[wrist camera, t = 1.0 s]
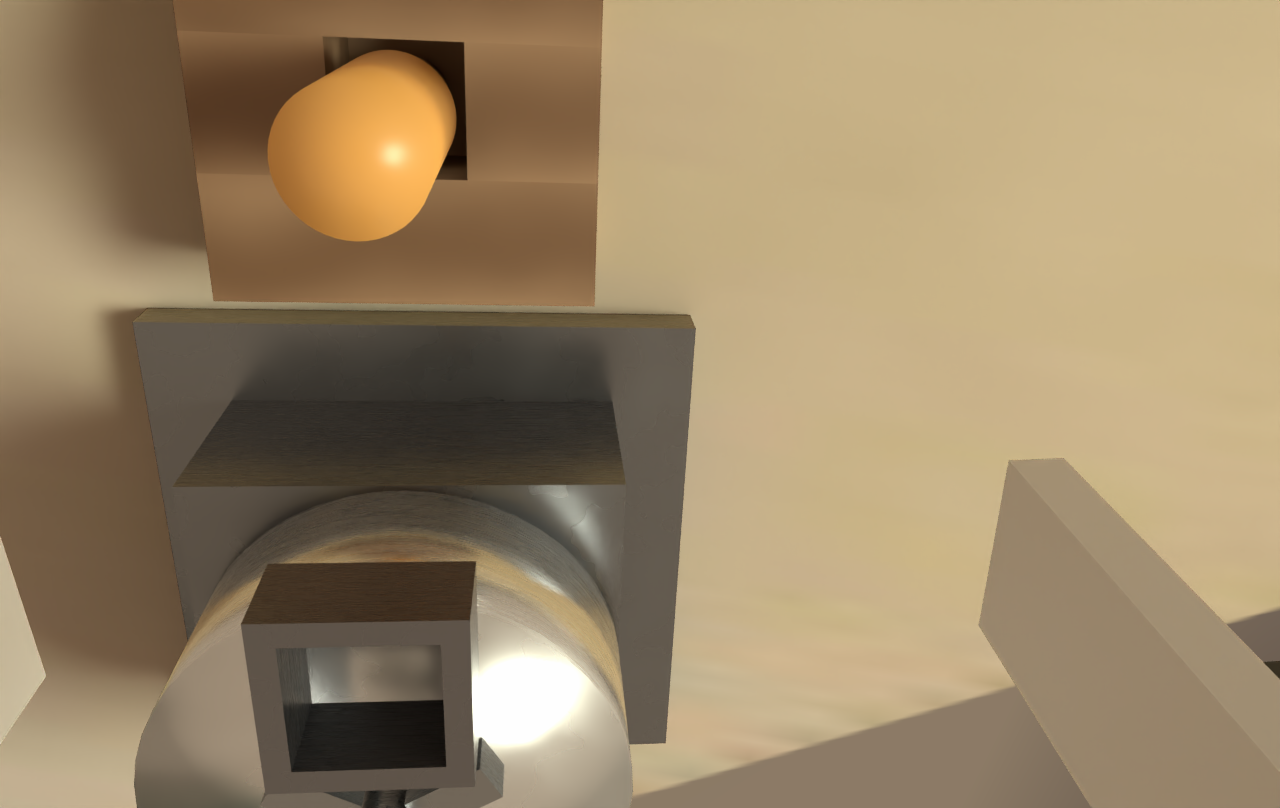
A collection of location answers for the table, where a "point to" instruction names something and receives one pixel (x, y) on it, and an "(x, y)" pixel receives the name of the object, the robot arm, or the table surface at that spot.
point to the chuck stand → (434, 440)
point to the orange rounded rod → (363, 145)
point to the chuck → (395, 670)
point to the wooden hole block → (468, 179)
